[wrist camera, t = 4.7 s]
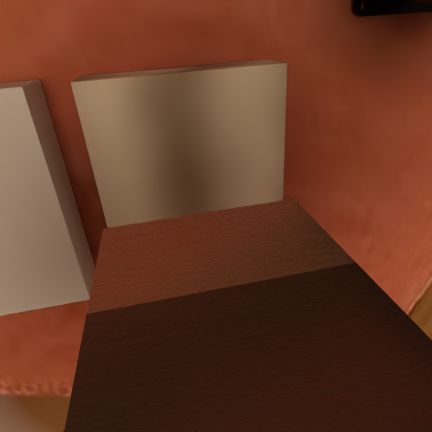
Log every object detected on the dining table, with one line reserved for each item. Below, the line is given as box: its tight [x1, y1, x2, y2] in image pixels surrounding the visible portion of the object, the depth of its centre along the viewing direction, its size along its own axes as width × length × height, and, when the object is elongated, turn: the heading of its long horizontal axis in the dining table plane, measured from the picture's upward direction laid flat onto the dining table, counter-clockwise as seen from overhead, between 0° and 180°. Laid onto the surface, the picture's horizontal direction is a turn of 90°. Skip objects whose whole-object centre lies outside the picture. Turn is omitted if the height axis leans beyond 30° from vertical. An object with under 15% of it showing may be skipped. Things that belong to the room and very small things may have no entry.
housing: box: [64, 199, 432, 432], centre depth 8 cm, size 5×7×6 cm
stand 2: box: [71, 60, 287, 228], centre depth 20 cm, size 10×12×3 cm
